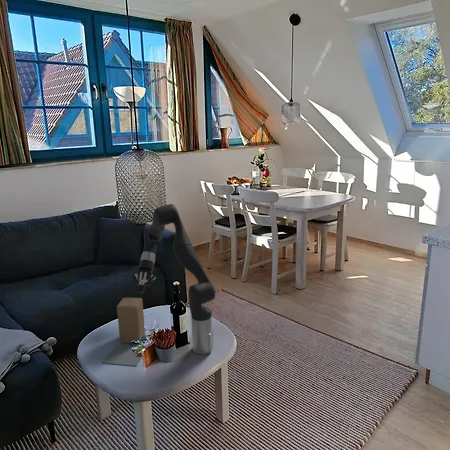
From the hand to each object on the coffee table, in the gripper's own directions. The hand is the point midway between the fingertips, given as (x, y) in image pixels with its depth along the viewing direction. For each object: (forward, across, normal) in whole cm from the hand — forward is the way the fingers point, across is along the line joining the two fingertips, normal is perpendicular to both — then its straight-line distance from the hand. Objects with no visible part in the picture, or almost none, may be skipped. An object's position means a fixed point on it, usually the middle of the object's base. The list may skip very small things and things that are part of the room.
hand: (140, 292), depth 204 cm
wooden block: (+23, 0, +3) cm, 23 cm away
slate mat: (+32, +2, -7) cm, 33 cm away
